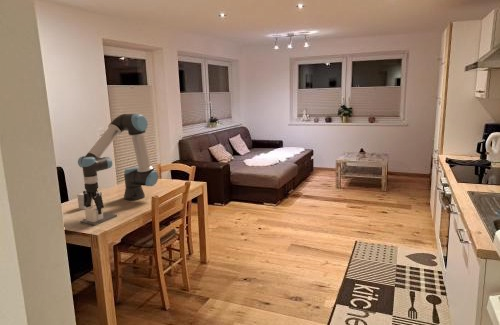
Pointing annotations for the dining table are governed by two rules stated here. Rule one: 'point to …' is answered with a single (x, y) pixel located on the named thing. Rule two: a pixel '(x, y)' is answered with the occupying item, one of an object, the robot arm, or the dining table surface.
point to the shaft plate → (105, 218)
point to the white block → (92, 213)
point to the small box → (82, 201)
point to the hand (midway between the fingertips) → (94, 218)
